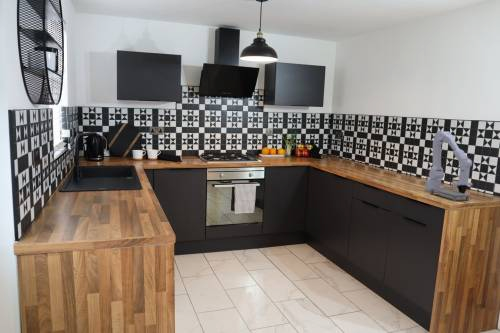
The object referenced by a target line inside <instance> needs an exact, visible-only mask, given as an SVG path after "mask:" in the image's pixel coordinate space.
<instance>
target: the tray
mask: <svg viewBox="0 0 500 333" xmlns="http://www.w3.org/2000/svg"><path fill="white" fill-rule="evenodd" d="M437 196H440V197H442V198H446V199H449V200H453V196H451V195H447V194H444V193H440V192H438V193H437ZM465 199H466V197H457V199H456V201H465ZM469 200H470V197H469Z"/></svg>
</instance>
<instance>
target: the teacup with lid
mask: <svg viewBox="0 0 500 333" xmlns="http://www.w3.org/2000/svg"><path fill="white" fill-rule="evenodd" d="M456 182H459V175H457V177H453V178H452V183H451V189H450V190H452V191H456V192H459V190H458V187H457V186H454V185H453V183H456Z"/></svg>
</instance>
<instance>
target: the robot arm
mask: <svg viewBox="0 0 500 333" xmlns="http://www.w3.org/2000/svg"><path fill="white" fill-rule="evenodd" d="M456 142H457V141H455V139H454V136H453V135H452V133H451V132H450V131H443V130H442V131H441V130H440V131H439V130H438V131H437V132H436V133H435V134H434V138H433V141H432V167H430V168H429V169H430V170H429V173H428V177H429V178H427V179H426V180H425V189H424V191H427V192H430V189H437V188H441V187H442V186H441V184H442V180H443V178H444V176H445V173H444V168H443V167H442V144H444V143H447V144H448V145H449V146H450V148H451V149H452V151H453V152H454V153H453V155H454V157H455V158H456V160H458V166H459V175H458V176H459V182H456V183H453V185H454V186H457V187H458V190H459V192H460V193H463V194H466V192H467V191H468V189H469V186H471V187H473V182H469V178H470V169H471V167H472V166H473V161H472V159H471V158H469V156H467V155H466V154H465V151H464V150H463V149H460V148H459V146H458V144H457V143H456ZM433 193H437V194H438V192H437V191H434V192H433Z"/></svg>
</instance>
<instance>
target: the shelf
mask: <svg viewBox="0 0 500 333" xmlns="http://www.w3.org/2000/svg"><path fill="white" fill-rule="evenodd" d="M434 191H437V192H440V193H444V194H447V195H451V196H453V199H452V202H454V203H455V202H457V200H456V199H457V197H466V199H465V200H464V201H465V202H470V199H469V197H470V196H471V195H470V194H467V193H464V194H463V193H460V192H456V191H452V190H451V189H449V188H441V187H440V188H437V189H430V191H429V195H432V196H433V195H434V193H435V192H434ZM437 192H436V193H437Z"/></svg>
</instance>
